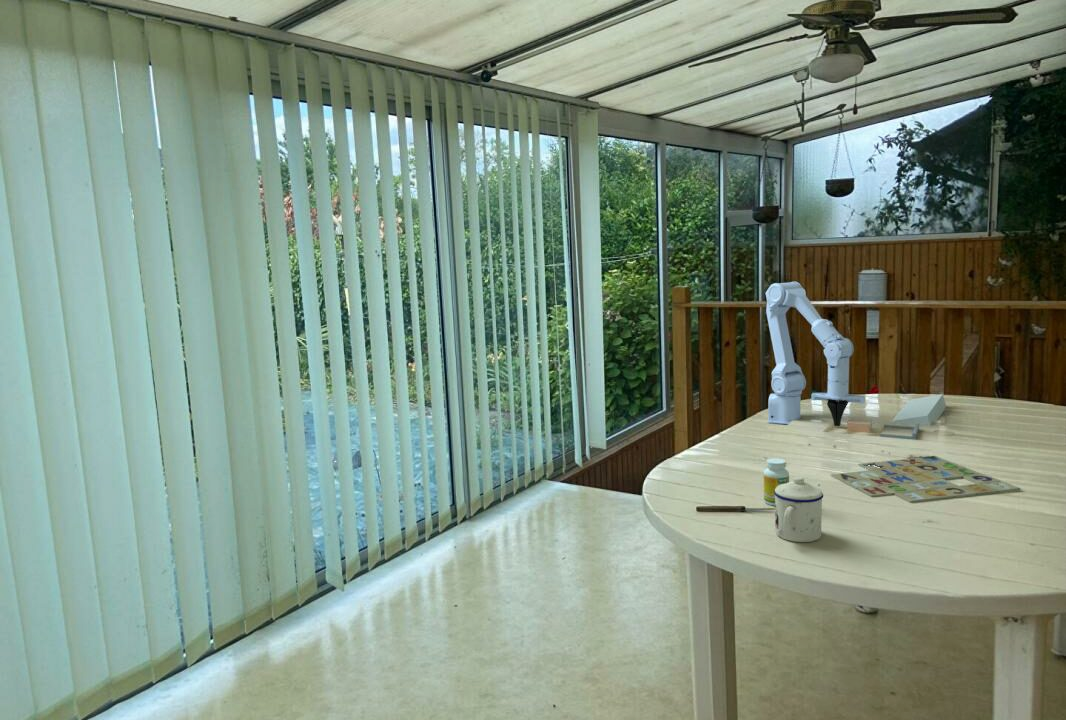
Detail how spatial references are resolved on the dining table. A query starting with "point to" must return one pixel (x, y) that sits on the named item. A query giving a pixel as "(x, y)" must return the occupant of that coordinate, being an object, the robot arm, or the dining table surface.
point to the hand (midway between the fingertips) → (837, 425)
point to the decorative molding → (921, 410)
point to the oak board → (843, 429)
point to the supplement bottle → (774, 478)
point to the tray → (913, 437)
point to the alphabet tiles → (921, 480)
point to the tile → (859, 425)
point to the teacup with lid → (798, 511)
